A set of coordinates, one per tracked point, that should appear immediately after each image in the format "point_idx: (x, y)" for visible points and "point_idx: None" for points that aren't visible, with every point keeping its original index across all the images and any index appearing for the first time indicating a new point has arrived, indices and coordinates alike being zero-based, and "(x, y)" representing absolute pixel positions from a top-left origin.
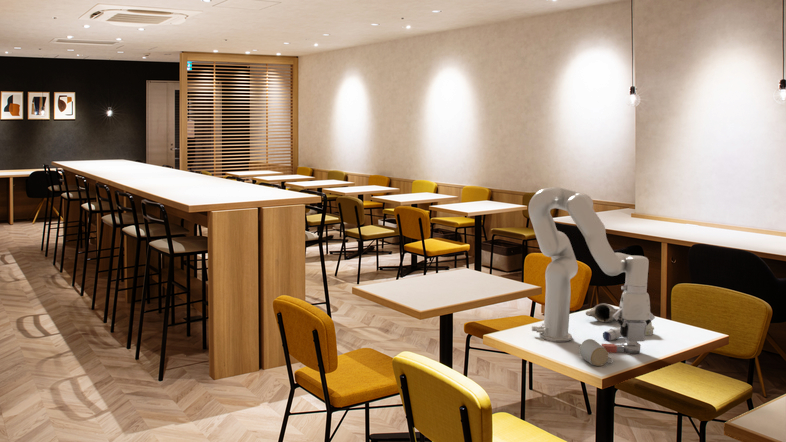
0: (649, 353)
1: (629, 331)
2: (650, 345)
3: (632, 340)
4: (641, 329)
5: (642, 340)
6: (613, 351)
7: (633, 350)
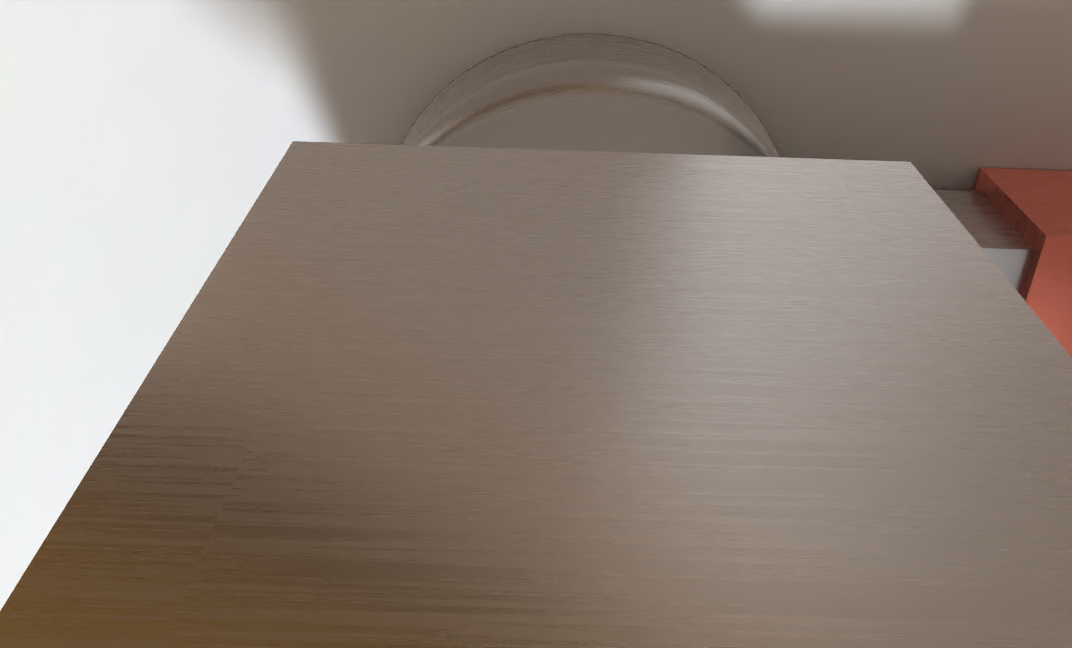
0: (166, 127)
1: (1028, 370)
2: (15, 564)
3: (736, 170)
4: (329, 425)
5: (345, 154)
6: (1069, 182)
7: (631, 69)
